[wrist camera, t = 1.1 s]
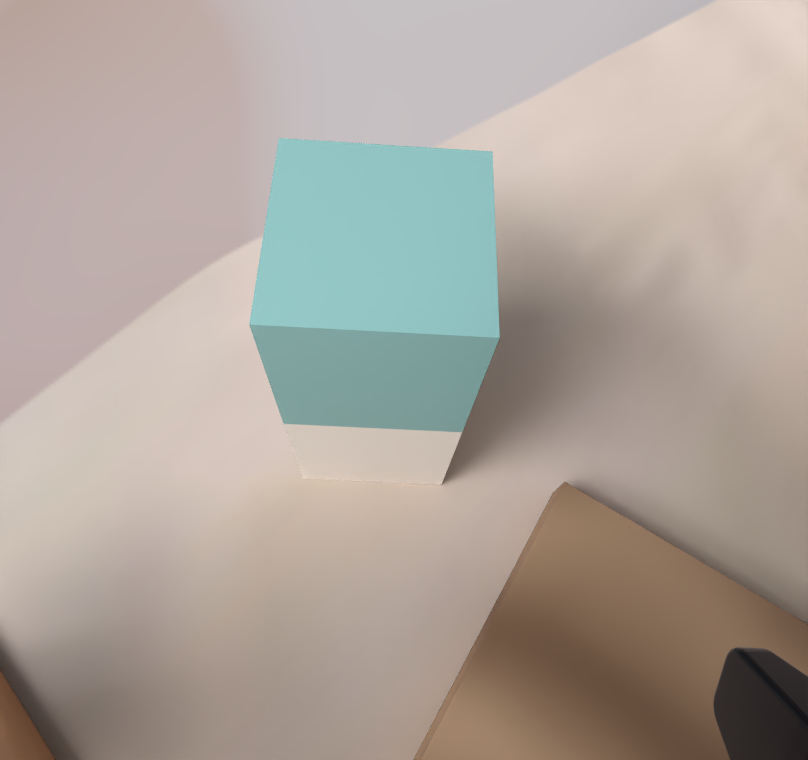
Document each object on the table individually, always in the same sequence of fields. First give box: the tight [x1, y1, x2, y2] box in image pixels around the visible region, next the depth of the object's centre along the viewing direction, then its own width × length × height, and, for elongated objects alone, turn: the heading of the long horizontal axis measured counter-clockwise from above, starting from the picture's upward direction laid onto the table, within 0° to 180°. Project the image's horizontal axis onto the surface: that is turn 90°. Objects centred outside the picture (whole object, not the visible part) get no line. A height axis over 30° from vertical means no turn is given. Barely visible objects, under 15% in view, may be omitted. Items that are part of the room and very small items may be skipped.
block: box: [249, 138, 500, 485], centre depth 18 cm, size 5×5×11 cm
